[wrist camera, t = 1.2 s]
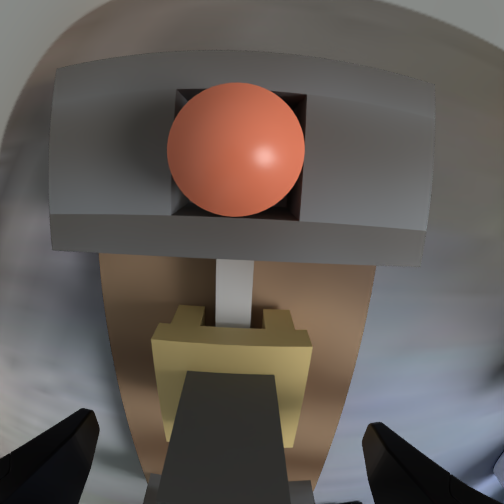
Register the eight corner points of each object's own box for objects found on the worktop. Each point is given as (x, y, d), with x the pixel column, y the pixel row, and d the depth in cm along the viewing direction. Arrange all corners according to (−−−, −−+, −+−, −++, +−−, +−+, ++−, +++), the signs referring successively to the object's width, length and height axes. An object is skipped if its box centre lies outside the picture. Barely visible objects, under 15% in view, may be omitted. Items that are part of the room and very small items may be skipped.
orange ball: (283, 203, 8) (300, 219, 6) (189, 199, 8) (165, 213, 6) (289, 110, 7) (307, 87, 5) (193, 106, 7) (171, 82, 5)
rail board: (305, 487, 18) (315, 546, 13) (155, 481, 18) (142, 539, 12) (375, 113, 12) (448, 89, 6) (114, 101, 11) (42, 72, 6)
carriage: (286, 405, 13) (308, 553, 6) (177, 400, 13) (142, 545, 6) (299, 309, 12) (355, 477, 5) (169, 304, 12) (92, 463, 4)
